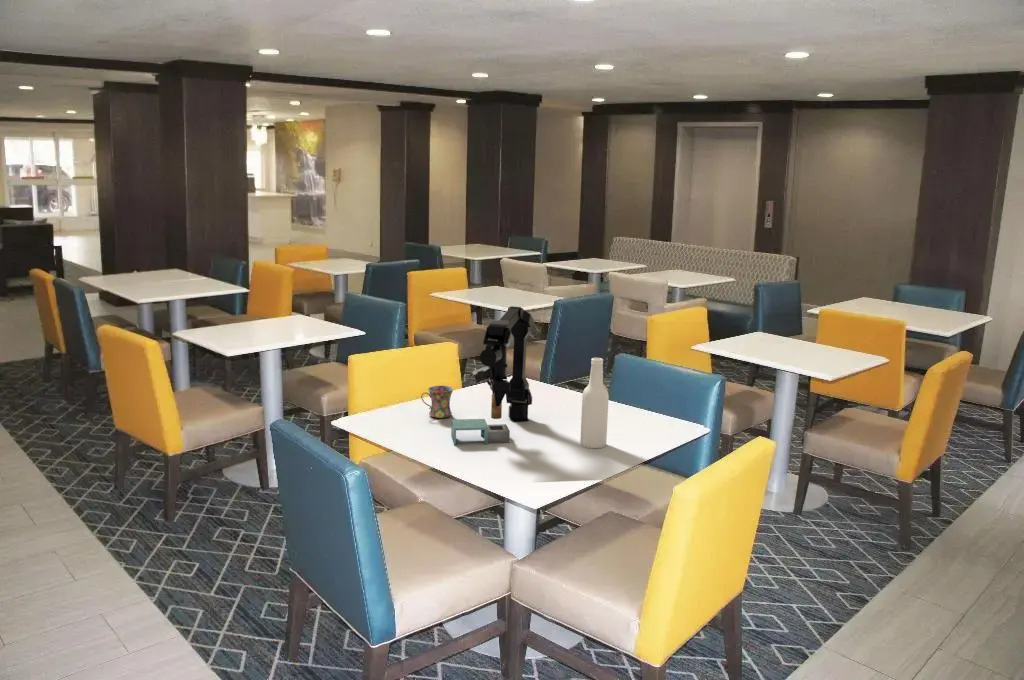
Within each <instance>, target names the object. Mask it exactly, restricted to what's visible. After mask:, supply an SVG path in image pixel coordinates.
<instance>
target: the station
mask: <svg viewBox="0 0 1024 680" xmlns="http://www.w3.org/2000/svg"><path fill="white" fill-rule="evenodd" d="M450 423H451V424H450V425H451V426H450V427H451V431H450V432H451V434H450V435H451V436H450V437H451V441H452V444H453V446H457V431H480V437H483V439H484V445H485V446H486V445H487V444H500V443H501V444H505V443H506V444H507V443H508V444H509V443H510V441H511V440H510V439H511V438H510V435H511V434H510V433H511V432H510V429H509V427H508V426H507V424H506V423H505V424H504V423H503V424H501V423H500V424H498V423H497V424H488V423H487V422H486V419H485V418H463V419H451V422H450ZM487 446H488V445H487Z"/></svg>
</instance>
